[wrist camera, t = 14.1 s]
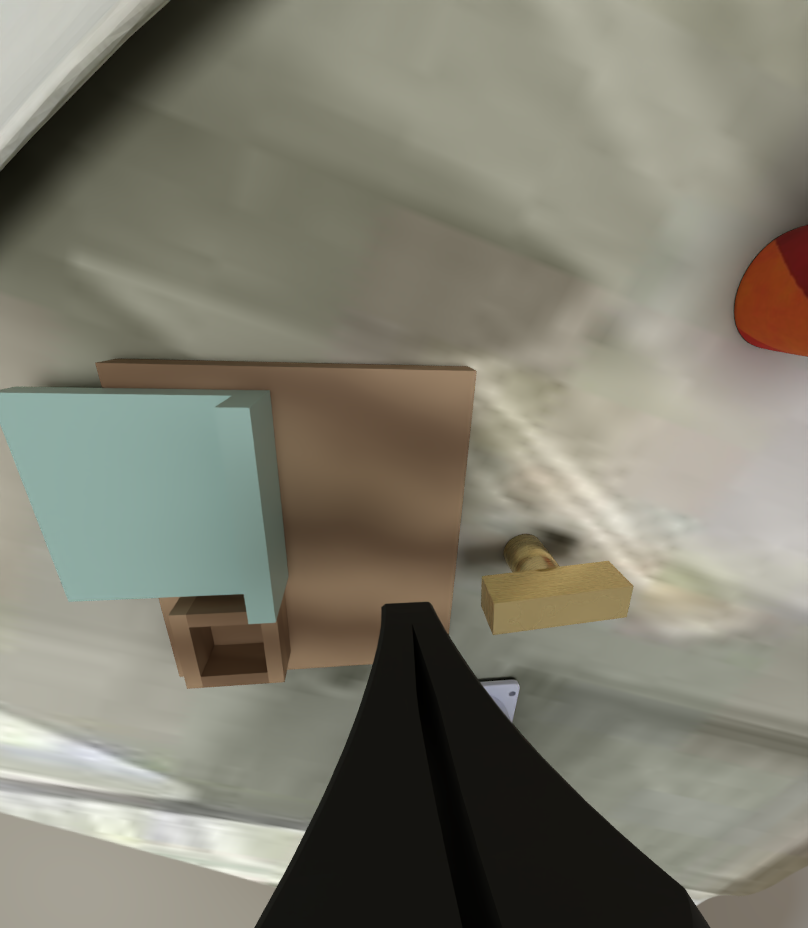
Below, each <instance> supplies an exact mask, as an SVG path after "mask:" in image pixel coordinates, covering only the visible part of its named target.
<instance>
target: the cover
mask: <svg viewBox="0 0 808 928" xmlns="http://www.w3.org/2000/svg"><path fill="white" fill-rule="evenodd" d="M0 425H1V427H2V430H3V433H4V435H5V438H6V440H7V443H8V446H9V448H10V451H11V453H12V456H13V459H14V461H15V464H16V466H17V469H18V472H19V474H20V477H21V479H22V482H23V485H24V487H25V490H26V492H27V495H28V497H29V500H30V503H31V505H32V508H33V510H34V513H35V516H36V518H37V521H38V523H39V526H40V529H41V531H42V534H43V536H44V539H45V542H46V544H47V547H48V549H49V552H50V555H51V557H52V560H53V562H54V565H55V568H56V570H57V573H58V575H59V578H60V580H61V583H62V586H63V588H64V591H65V593H66V596H67V599H68V601H69V602H72V601H95V600H118V599H141V598H164V597H187V596H210V595H233V594H244V599H245V605H246V612H247V618H248V624H260V623H276V620H277V616H278V613H279V609H280V606H281V602H282V598H283V595H284V591H285V588H286V584H287V580H288V567H287V557H286V547H285V537H284V527H283V517H282V507H281V497H280V487H279V477H278V467H277V457H276V447H275V437H274V427H273V417H272V407H271V397H270V390H210V389H141V388H73V387H11V388H7V389H2V390H0Z"/></svg>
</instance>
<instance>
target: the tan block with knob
mask: <svg viewBox="0 0 808 928" xmlns="http://www.w3.org/2000/svg"><path fill="white" fill-rule="evenodd" d="M504 558H505V560H506V562H507V564H508V566H509V567H510V569H511V571H512V572H513V573H505V574H496V575H488V576H482V590H481V607H482V609H483V612H484V614H485V616H486V619H487V621H488V624H489V626H490V629H491V631H492V634H493V635H497V634H504V633H512V632H519V631H527V630H534V629H541V628H549V627H556V626H564V625H571V624H579V623H586V622H594V621H601V620H609V619H616V618H624V617H627V613H628V609H629V604H630V599H631V595H632V590H633V585H632V584H631V583H630V582H629V581H628V580H627V579H626V578H625V577H624V576H623V575H622V574H621V573H620V572H619V571H618V570H617V569H616V568H615V567H614V566H613V565H612V564H611V563H610V562H609V561H603V562H595V563H587V564H579V565H570V566H562V567H560V566H559V565H558V564H557V563H556V561H555V560H554V559H553V557H552V556H551V555H550V554H549V552H548V551H547V550H546V548H545V547H544V546H543V544H542V543H541V542H540V541H539V539H538V538H537V537H535V536H533V535H530V534H522V535H518V536H516V537H514V538H513V539H511V540H510V541H509V542H508V543H507V545H506V546H505V549H504Z"/></svg>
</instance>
